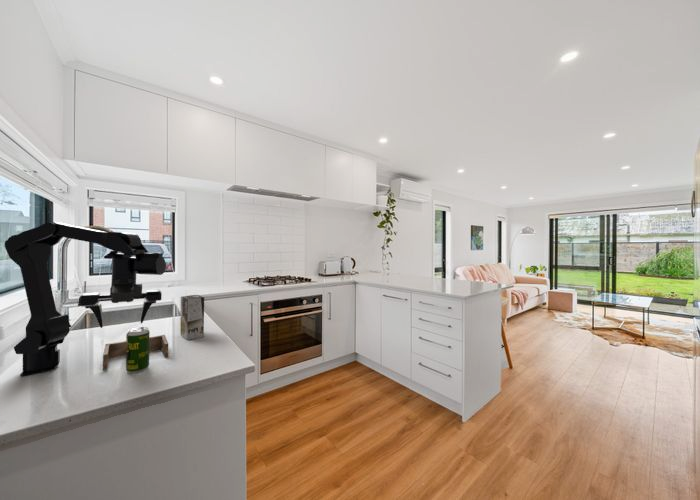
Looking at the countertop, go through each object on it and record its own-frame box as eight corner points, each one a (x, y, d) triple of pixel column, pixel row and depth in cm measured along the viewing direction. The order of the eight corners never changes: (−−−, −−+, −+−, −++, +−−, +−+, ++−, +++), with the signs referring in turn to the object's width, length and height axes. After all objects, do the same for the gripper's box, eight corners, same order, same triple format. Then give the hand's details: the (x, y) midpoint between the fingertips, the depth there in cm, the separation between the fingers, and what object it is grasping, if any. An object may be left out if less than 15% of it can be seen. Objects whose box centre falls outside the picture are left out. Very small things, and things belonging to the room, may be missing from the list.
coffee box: (204, 336, 109) (205, 297, 109) (186, 340, 105) (187, 299, 105) (196, 331, 116) (197, 294, 116) (179, 334, 111) (180, 295, 111)
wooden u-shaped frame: (102, 369, 79) (103, 355, 79) (105, 357, 87) (105, 344, 87) (168, 356, 89) (168, 343, 89) (164, 346, 98) (164, 334, 98)
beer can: (135, 365, 82) (135, 326, 82) (153, 365, 82) (153, 326, 82) (120, 374, 77) (121, 332, 77) (140, 374, 77) (140, 332, 77)
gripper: (76, 278, 69) (73, 338, 69) (163, 275, 81) (161, 327, 81) (82, 273, 78) (80, 327, 78) (161, 272, 90) (159, 318, 90)
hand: (122, 325), depth 82 cm, fingers open, 9 cm apart
